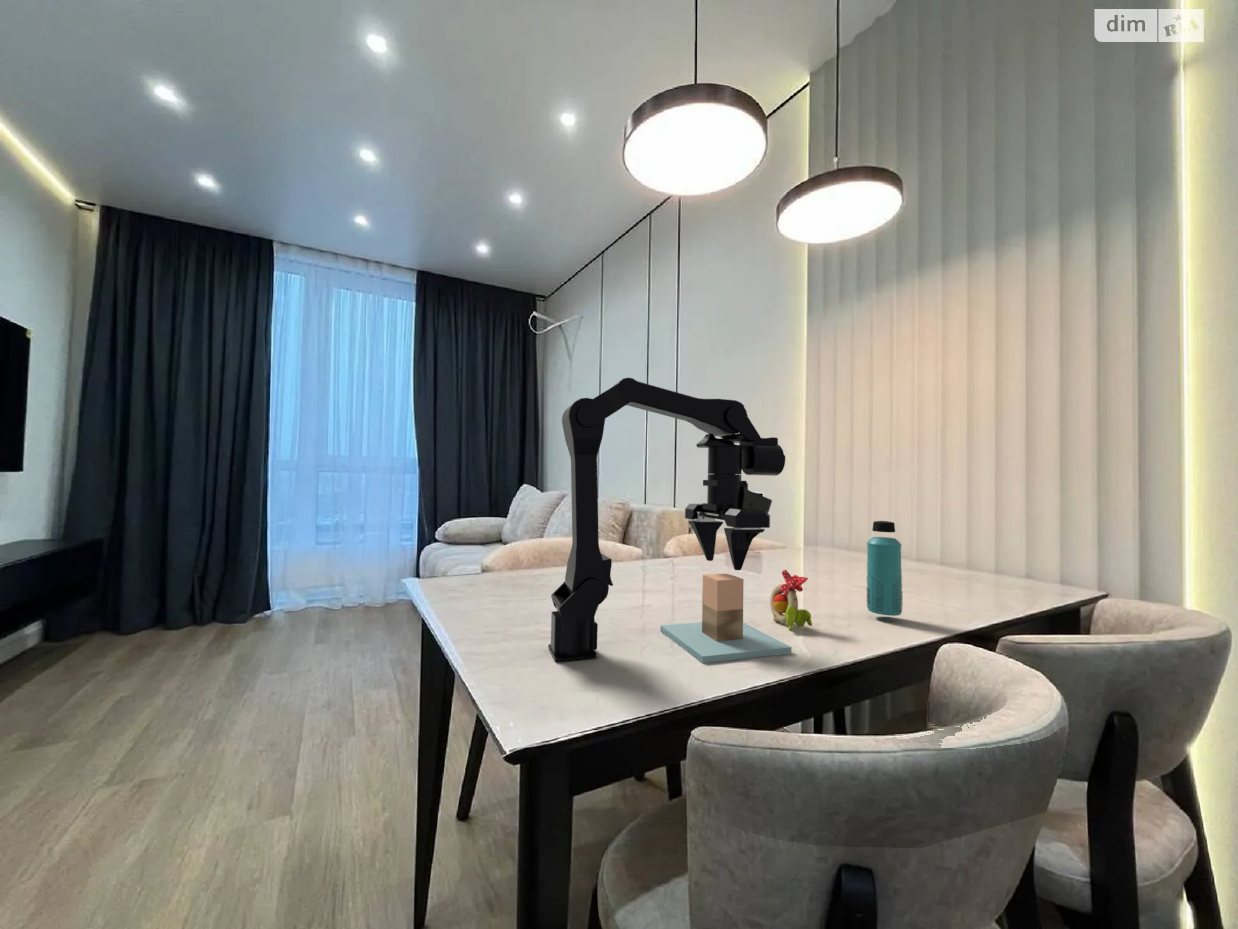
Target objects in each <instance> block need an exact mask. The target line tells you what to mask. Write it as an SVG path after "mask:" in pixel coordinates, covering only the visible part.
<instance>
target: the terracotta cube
mask: <svg viewBox="0 0 1238 929" xmlns="http://www.w3.org/2000/svg"><path fill="white" fill-rule="evenodd" d="M744 583H745V582H744V578H741V577H739V576H737V575H734V574H730V573H711V574H709V573H708V574H707V573H706V574H702V590H701V591H702V592H701V593H702V596H701V597H702V602H701V603H702V604H704V605H706V606H708V607H710V608H712V609H714V610H716V611H723V610H736V609H743V610H744Z"/></svg>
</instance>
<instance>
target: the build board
mask: <svg viewBox="0 0 1238 929" xmlns="http://www.w3.org/2000/svg"><path fill="white" fill-rule="evenodd" d="M659 627H660V628H659V629H660V630H659V631H660V632H661V633H662V634H664V635H665V636H666V637H668V639H670V640H672V641H673V642H674V643H675V644H677V645H678V646H679V647H680V648H682V649H683V650H685V651H686V652H687V653H689V654H690V655H691V656H692V657H694V658H695V659H696V660H697V661H699V662H700V663H701V664H707V663H718V662H723V661H724V662H725V661H733V660H745V659H753V658H763V657H771V656H779V654H782V655H790V654H792V646H790V645H788V644H786V643H784V642H783V641H780V640H778V639H777V638H775V637H773V636H771V635H769V634H767V633H766V632H763V631H760V630H759V629H757V628H756V627H753V626H751V625H750V624H747V623H746V622H744V621H743V639H738V640H728V641H717V642H716V641H715V640H713V639H712V638H710V637H709V636H707V635H705V634H704V633H702V621H699V622H688V623H687V622H685V623H674V624H661V625H660V626H659Z"/></svg>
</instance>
